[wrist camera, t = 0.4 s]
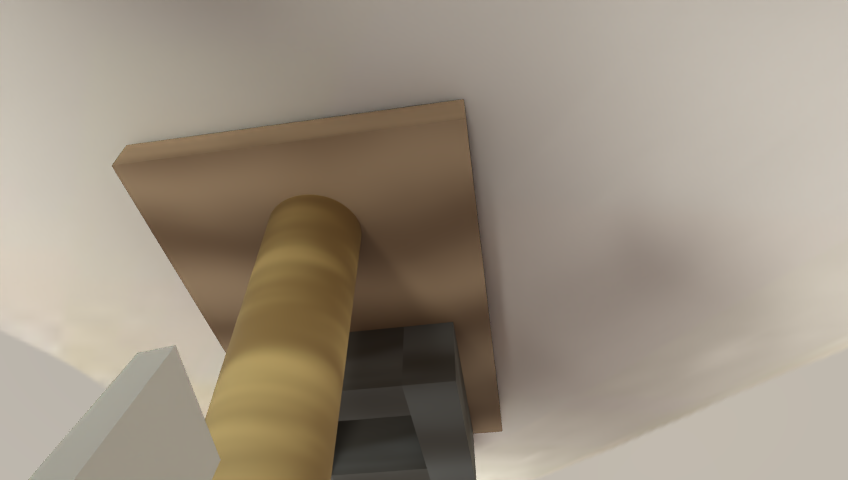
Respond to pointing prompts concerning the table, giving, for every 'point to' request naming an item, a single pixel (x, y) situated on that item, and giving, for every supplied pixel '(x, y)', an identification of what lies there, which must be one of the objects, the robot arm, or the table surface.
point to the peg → (289, 347)
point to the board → (376, 274)
